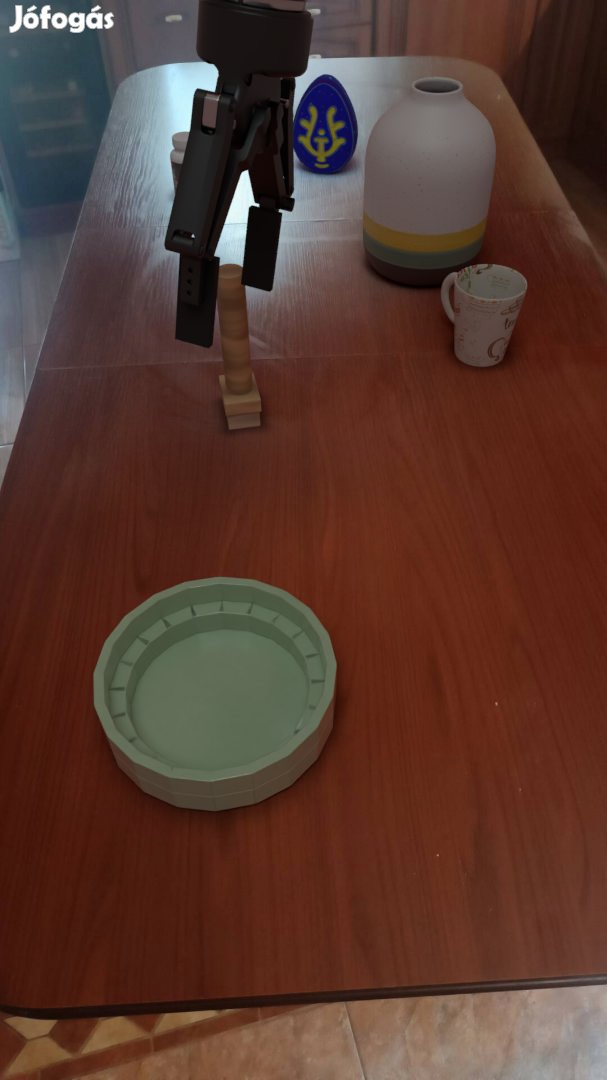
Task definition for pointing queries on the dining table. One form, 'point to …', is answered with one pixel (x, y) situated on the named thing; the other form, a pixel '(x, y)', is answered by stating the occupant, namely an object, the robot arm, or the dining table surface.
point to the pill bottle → (178, 154)
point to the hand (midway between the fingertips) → (227, 312)
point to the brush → (236, 351)
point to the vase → (427, 184)
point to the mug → (483, 311)
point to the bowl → (216, 692)
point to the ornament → (325, 126)
